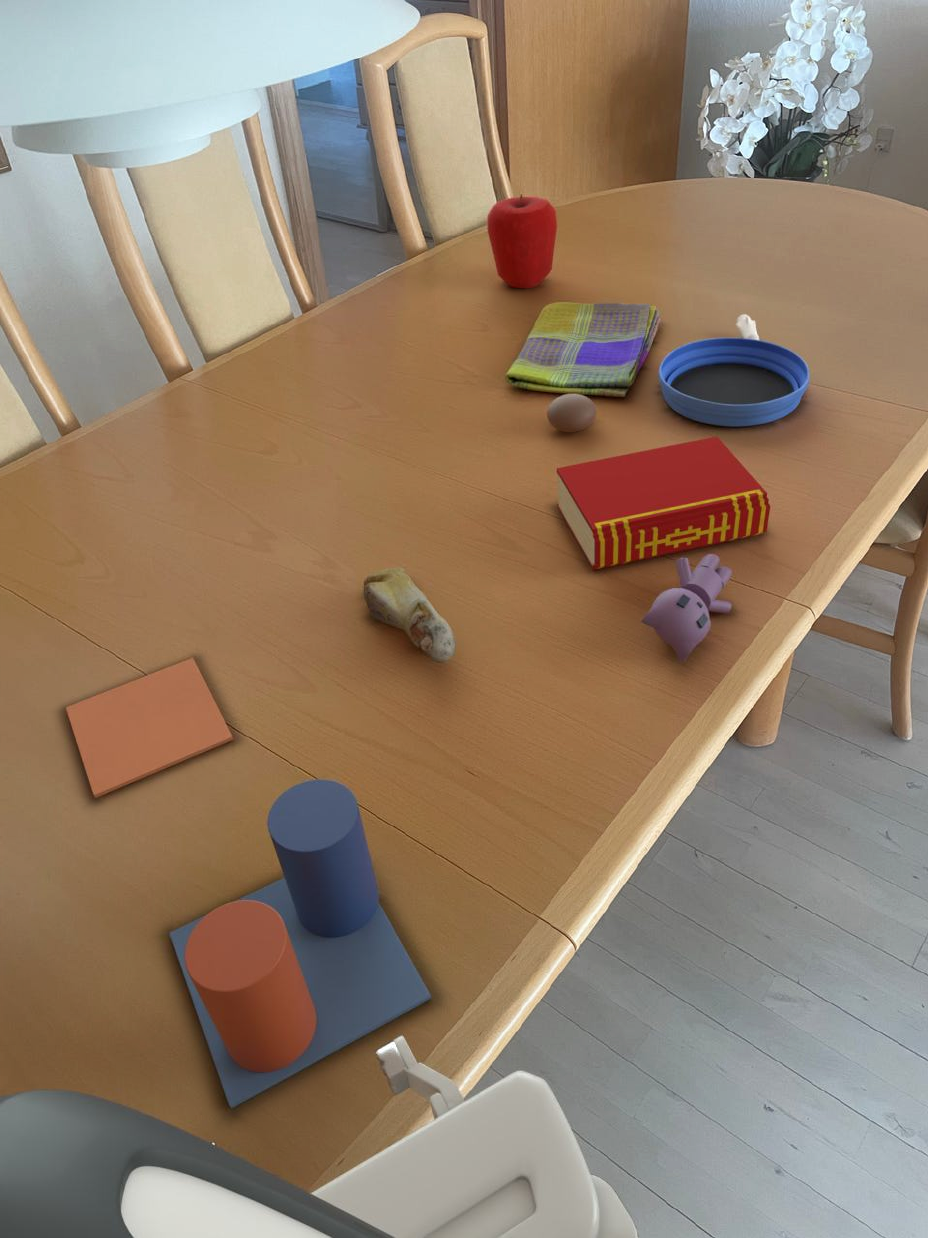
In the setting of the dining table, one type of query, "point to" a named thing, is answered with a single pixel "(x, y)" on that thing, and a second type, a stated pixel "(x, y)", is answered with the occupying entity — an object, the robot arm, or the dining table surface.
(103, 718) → the terracotta mat
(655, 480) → the book
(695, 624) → the figurine
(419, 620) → the weathered bone fragment
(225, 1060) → the blue mat
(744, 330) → the small white plastic part
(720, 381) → the bowl
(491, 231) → the apple
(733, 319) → the dining table surface
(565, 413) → the egg
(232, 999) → the terracotta canister
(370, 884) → the blue canister
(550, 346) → the dish towel
